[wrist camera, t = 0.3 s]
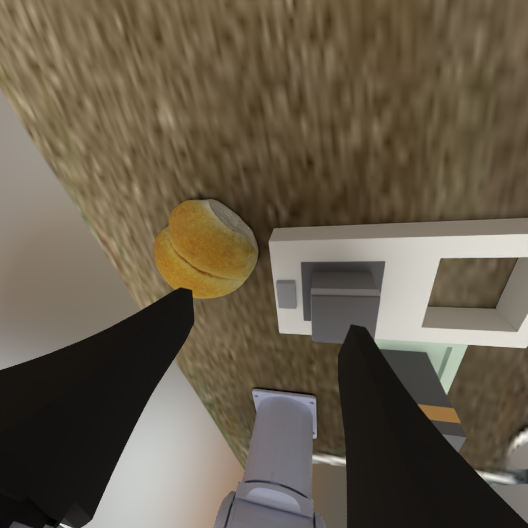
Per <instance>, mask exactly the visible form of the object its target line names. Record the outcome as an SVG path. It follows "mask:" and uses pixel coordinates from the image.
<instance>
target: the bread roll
mask: <svg viewBox="0 0 528 528" xmlns="http://www.w3.org/2000/svg"><path fill="white" fill-rule="evenodd" d="M168 224H169V226H168V227H166V228H164V229H163V230H162V231H161V232H160V233H159V234H158V235H157V237H156V239H155V242H154V259H155V263H156V266H157V268H158V270H159V272H160V273H161V275H162V276H163V278H164V279H165V280H166V281H167V283H168V284H170V285H171V286H172V287H173V288H174V289H178V288H179V287H181V288H186V289H191V290H192V293H193V298H203V299H206V298H216V297H220V296H224V295H227V294H229V293H231V292H233V291H235V290H236V289H238V288H239V287H240V286H241V285H242V284H243V283H244V282H245V281H246V279H247V278H248V277H249V276H250V274H251V273H252V271H253V270H254V268H255V265H256V262H257V258H258V246H257V242H256V239H255V237H254V234H253V231H252V230H251V229H250V228H249V227H248V226H247V225H246V224H245V223H244V222H243V221H242V219H241V218H240V217H239V216H238V215H237V214H235V213H234V212H233V211H232V210H230V209H229V208H227V207H226V206H225V205H223V204H222V203H220V202H219V201H216V200H213V199H207V200H187V201H184V202H182V203H181V204H179V205H178V206H177V207H175V208H174V209H173V211H172V212H171V214H170V217H169V223H168Z"/></svg>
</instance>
